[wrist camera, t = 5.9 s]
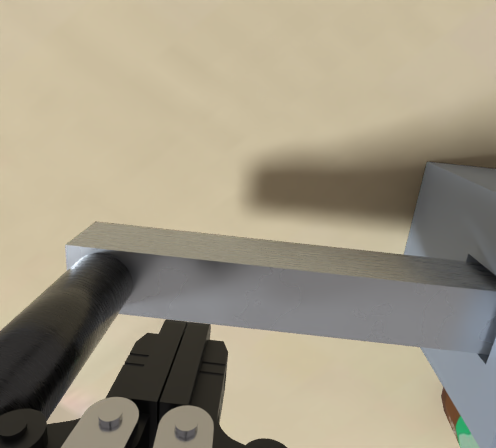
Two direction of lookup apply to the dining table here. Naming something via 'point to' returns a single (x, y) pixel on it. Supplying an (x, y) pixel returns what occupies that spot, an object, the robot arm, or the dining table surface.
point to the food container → (457, 423)
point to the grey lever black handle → (236, 299)
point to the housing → (462, 249)
